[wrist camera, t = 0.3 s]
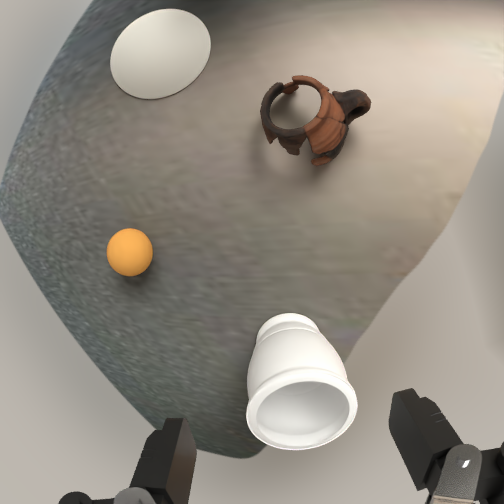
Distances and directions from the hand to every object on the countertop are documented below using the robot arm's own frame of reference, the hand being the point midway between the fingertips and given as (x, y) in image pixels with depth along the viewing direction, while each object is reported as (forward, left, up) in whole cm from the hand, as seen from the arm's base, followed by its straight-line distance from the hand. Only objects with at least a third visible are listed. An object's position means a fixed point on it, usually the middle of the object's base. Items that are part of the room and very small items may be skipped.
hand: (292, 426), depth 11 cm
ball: (-3, -16, -25) cm, 30 cm away
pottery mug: (-15, +7, -29) cm, 33 cm away
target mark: (-27, -10, -28) cm, 40 cm away
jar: (+12, +1, -28) cm, 31 cm away
